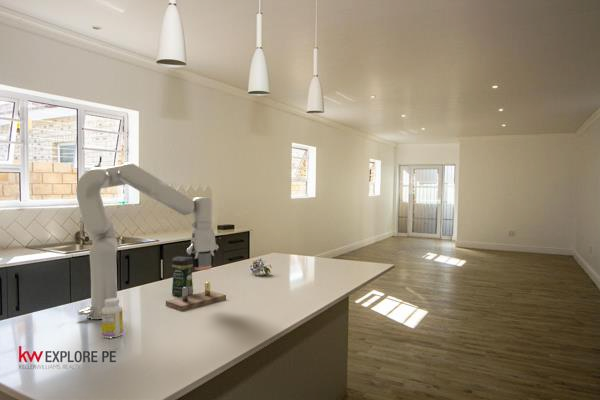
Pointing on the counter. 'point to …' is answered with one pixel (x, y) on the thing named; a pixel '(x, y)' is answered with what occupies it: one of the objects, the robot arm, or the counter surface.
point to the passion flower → (259, 267)
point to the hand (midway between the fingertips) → (203, 265)
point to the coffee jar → (182, 275)
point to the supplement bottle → (112, 318)
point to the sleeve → (204, 261)
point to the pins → (185, 291)
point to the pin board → (195, 300)
